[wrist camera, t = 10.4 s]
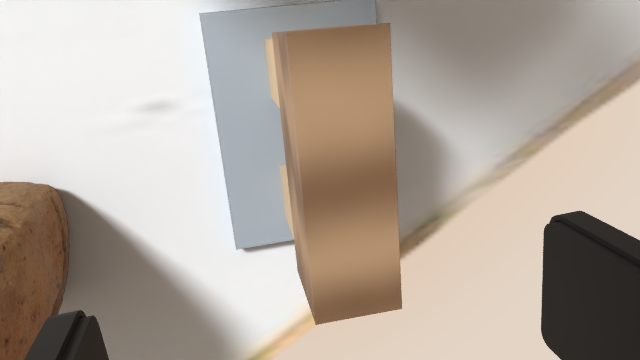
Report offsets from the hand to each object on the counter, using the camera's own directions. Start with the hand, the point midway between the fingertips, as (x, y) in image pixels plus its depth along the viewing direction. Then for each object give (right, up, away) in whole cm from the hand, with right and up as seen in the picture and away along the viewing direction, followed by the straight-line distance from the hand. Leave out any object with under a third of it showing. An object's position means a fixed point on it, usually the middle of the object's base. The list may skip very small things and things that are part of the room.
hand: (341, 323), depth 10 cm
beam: (0, +4, +19) cm, 19 cm away
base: (-2, +7, +28) cm, 28 cm away
